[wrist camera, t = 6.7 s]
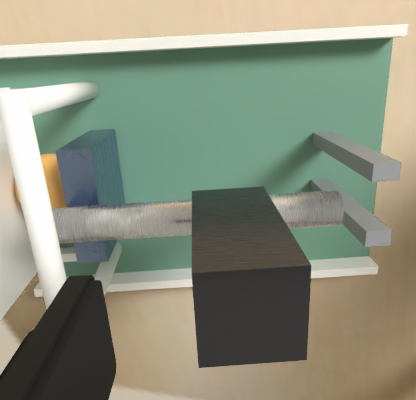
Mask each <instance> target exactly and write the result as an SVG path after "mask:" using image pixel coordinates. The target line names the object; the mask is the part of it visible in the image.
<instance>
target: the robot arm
mask: <svg viewBox="0 0 416 400" xmlns="http://www.w3.org/2000/svg"><path fill="white" fill-rule="evenodd" d="M115 373H116V359H115V354H114V348H113V343H112V337H111V331H110V326H109V320H108V314H107V309H106V303H105V298H104V292H103V286H102V283H101V281H100V280H95V278H94V277H93V275H78V276H69V277H68V278H67V279H66V281H65V282H64V284H63V286H62V287H61V289H60V290H59V292H58V293H57V295H56V296H55V298H54V300H53V301H52V303H51V304H50V306H49V307H48V309H47V310H46V312H45V313H44V315H43V317H42V318H41V320H40V321H39V323H38V324H37V326H36V327H35V329H34V330H33V331H31V332H29V334H28V335H27V336H26V337H25V339H24V340H23V342H22V343H21V345H20V346H19V348H18V349H17V351H16V352H15V354H14V355H13V357H12V359H11V360H10V362H9V363H8V364H7V366H6V367H5V369H4V371H3V372H2V374H1V375H0V400H108V399H109V395H110V392H111V388H112V385H113V381H114V378H115Z"/></svg>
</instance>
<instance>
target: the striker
mask: <svg viewBox="0 0 416 400" xmlns="http://www.w3.org/2000/svg"><path fill="white" fill-rule="evenodd" d="M55 152H56V157H57V162H58V167H59V172H60V177H61V182H62V187H63V192H64V197H65V202H66V207H59V208H52V212H53V217H54V222H55V226H56V231H57V236H58V241H59V243H74V248H75V253H76V258H77V263H92V262H107V261H109V258H110V256H111V254H112V252H113V249H114V247H115V245H116V242H117V240H119V239H135V238H150V237H166V236H181V235H192V285H193V298H194V311H195V324H196V337H197V350H198V363H199V368H202V367H216V366H230V365H243V364H257V363H271V362H285V361H298V360H307V341H308V322H309V302H310V283H311V264H310V262H309V260H308V259H307V257H306V255H305V254H304V252H303V251H302V249H301V247H300V246H299V244H298V242H297V241H296V239H295V237H294V236H293V234H292V233H291V231H290V229H289V228H305V227H320V226H336V225H340V224H341V223H342V220H343V215H344V207H343V201H342V197H341V195H340V193H339V192H338V191H337V190H331V191H315V192H299V193H283V194H268V193H267V192H266V190H265V188H264V187H246V188H230V189H214V190H198V191H192V199H187V200H171V201H155V202H139V203H125V197H124V190H123V183H122V176H121V168H120V161H119V154H118V146H117V139H116V132H115V129H107V130H89V131H88V132H86V133H84V134H83V135H81V136H79V137H78V138H76V139H74V140H73V141H71V142H69V143H68V144H66V145H64V146H63V147H61V148H59V149H57V150H56V151H55Z"/></svg>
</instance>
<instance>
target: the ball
mask: <svg viewBox="0 0 416 400" xmlns="http://www.w3.org/2000/svg"><path fill="white" fill-rule="evenodd" d="M40 156H41V160H42V165H43V170H44V175H45V179H46V184H47V189H48V193H49V198H50V203H51V208H59V207H66V202H65V197H64V192H63V187H62V182H61V177H60V172H59V167H58V162H57V157H56V154H42V155H40ZM15 191H16V195H17V198H18V200H19V202H20V198H19V194H18V190H17V186H16V182H15ZM20 204H21V202H20Z"/></svg>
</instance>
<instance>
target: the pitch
mask: <svg viewBox="0 0 416 400" xmlns="http://www.w3.org/2000/svg"><path fill="white" fill-rule="evenodd" d="M407 31H408V24H400V25H381V26H362V27H343V28H324V29H305V30H286V31H267V32H248V33H229V34H211V35H192V36H173V37H154V38H135V39H116V40H97V41H78V42H59V43H41V44H22V45H3V46H0V321H1V319H2V318H3V317H4V315H5V314H6V313H7V311H8V310H9V309H10V308H11V306H12V305H13V304H14V302H15V301H16V300H17V298H18V297H19V296H20V294H21V293H22V292H23V290H24V289H25V288H26V287H27V285H28V284H29V283H30V281H31V280H32V279H33V277H34V276H35V275H36V273H37V272H38V277H39V283H38V284H37V285H36V287H35V288H34V289H33V291H34V295H35V297H44V301H45V305H46V310H47V309H48V307H49V306H50V304H51V303H52V301H53V300H54V298H55V296H56V295H57V293H58V292H59V290H60V289H61V287H62V286H63V284H64V282H65V281H66V279H67V278H68V277H69V276H78V275H93V277H94V278H95V280H100V281H101V283H102V286H103V292H104V296H105V294H106V292H119V291H133V290H148V289H163V288H178V287H192V286H193V285H192V235H181V236H166V237H150V238H135V239H119V240H117V242H116V245H115V247H114V249H113V252H112V254H111V256H110V258H109V261H107V262H92V263H77V258H76V253H75V248H74V243H59V241H58V236H57V231H56V226H55V222H54V217H53V212H52V208H51V203H50V198H49V193H48V189H47V184H46V179H45V175H44V170H43V165H42V160H41V156H40V155H42V154H56V152H55V151H56V150H57V149H59V148H61V147H63V146H64V145H66V144H68V143H69V142H71V141H73V140H74V139H76V138H78V137H79V136H81V135H83V134H84V133H86V132H88V131H89V130H107V129H115V132H116V139H117V146H118V154H119V161H120V168H121V176H122V183H123V190H124V197H125V203H139V202H155V201H171V200H187V199H192V191H198V190H214V189H230V188H246V187H264V188H265V190H266V192H267V193H268V194H283V193H299V192H315V191H331V190H337V191H338V192H339V193H340V195H341V197H342V201H343V207H344V215H343V220H342V223H341V224H340V225H336V226H320V227H305V228H289V229H290V231H291V233H292V234H293V236H294V237H295V239H296V241H297V242H298V244H299V246H300V247H301V249H302V251H303V252H304V254H305V255H306V257H307V259H308V260H309V262H310V264H311V278H325V277H340V276H355V275H370V274H378V265H377V264H376V263H375V262H374V261H373V260H372V259H371V258H370V257H369V249H370V247H374V246H389V245H390V243H391V236H392V229H390V228H389V227H388V226H387V225H386V224H384V223H383V222H382V221H381V220H379V219H378V218H377V217H376V216H374V215H373V213H374V204H375V195H376V186H377V182H379V181H395V180H399V175H400V168H401V162H399V161H397V160H394V159H392V158H390V157H388V156H385V155H383V154H381V153H380V150H381V141H382V132H383V123H384V114H385V105H386V96H387V87H388V78H389V69H390V60H391V51H392V42H393V38H396V37H402V36H407ZM15 182H16V186H17V190H18V194H19V198H20V202H21V204H20V202H19V200H18V198H17V195H16V191H15Z"/></svg>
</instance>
